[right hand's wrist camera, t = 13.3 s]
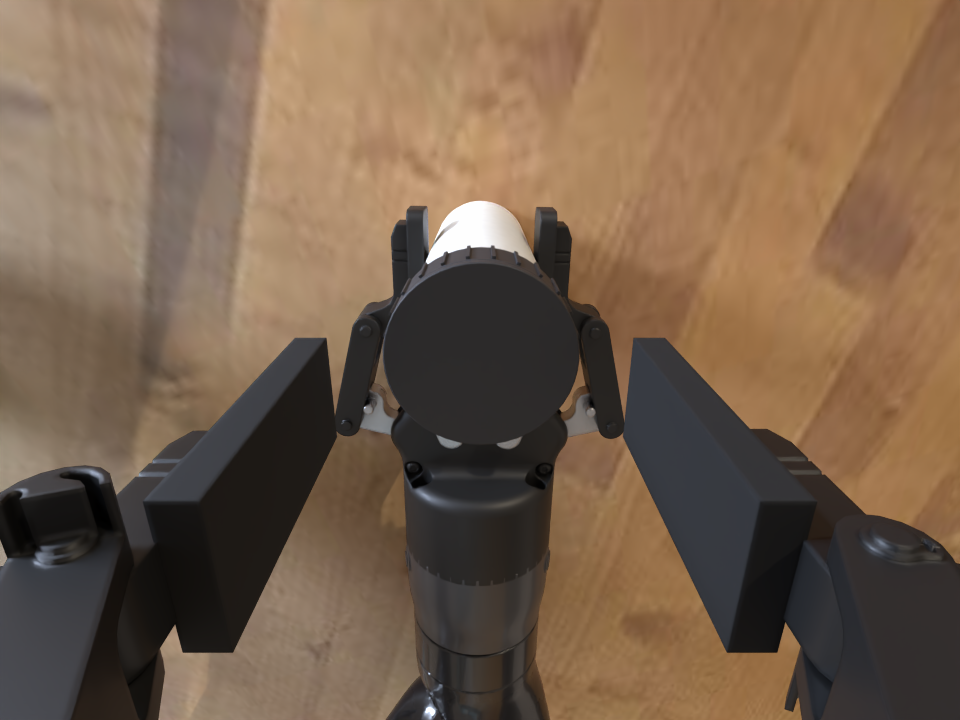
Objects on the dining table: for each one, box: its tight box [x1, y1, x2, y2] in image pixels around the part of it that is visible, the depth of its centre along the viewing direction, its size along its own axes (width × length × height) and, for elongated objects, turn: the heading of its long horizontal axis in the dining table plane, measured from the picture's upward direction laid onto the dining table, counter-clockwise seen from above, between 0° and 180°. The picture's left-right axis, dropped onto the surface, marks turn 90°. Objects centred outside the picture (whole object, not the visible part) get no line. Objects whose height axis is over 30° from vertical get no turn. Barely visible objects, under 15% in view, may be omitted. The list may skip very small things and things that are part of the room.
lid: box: [383, 245, 579, 445], centre depth 16 cm, size 5×5×2 cm
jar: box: [426, 201, 536, 264], centre depth 23 cm, size 5×5×16 cm
